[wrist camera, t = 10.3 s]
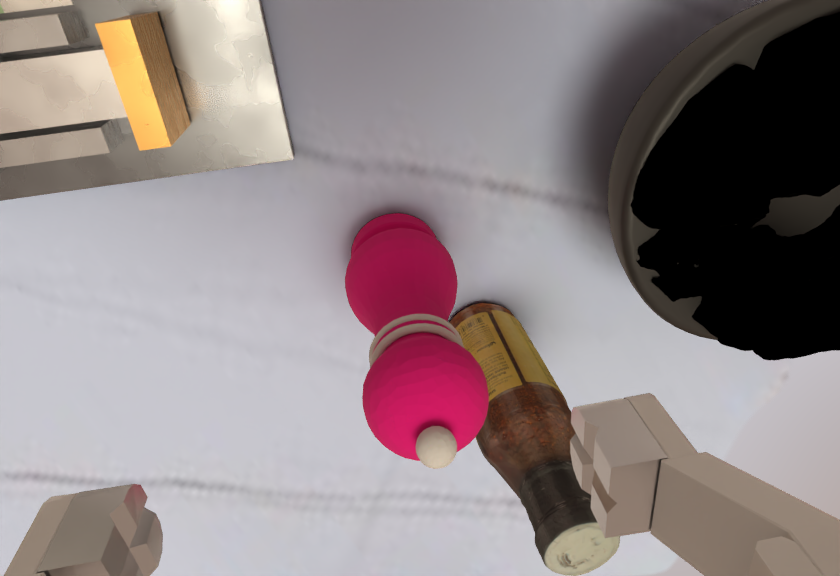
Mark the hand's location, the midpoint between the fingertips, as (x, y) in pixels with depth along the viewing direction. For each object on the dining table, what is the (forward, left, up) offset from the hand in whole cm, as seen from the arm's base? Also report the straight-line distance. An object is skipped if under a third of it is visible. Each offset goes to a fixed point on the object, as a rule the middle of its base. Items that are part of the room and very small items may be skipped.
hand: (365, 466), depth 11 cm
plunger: (-6, -14, -28) cm, 32 cm away
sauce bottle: (+18, +8, -29) cm, 35 cm away
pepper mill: (+10, +2, -29) cm, 31 cm away
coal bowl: (+5, +24, -29) cm, 38 cm away
